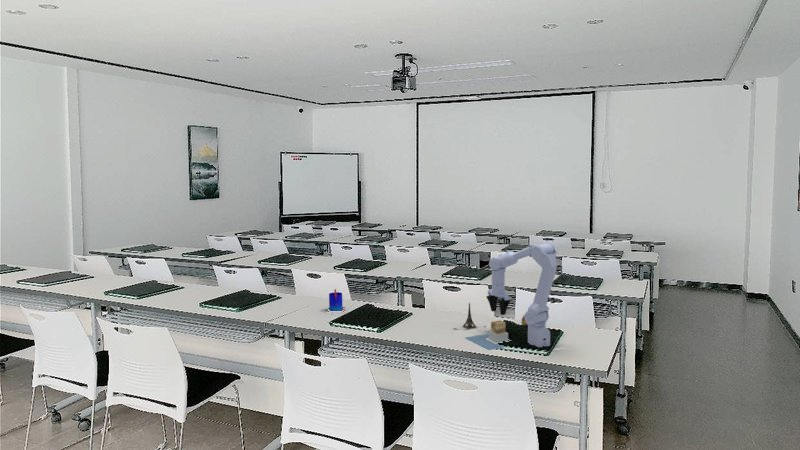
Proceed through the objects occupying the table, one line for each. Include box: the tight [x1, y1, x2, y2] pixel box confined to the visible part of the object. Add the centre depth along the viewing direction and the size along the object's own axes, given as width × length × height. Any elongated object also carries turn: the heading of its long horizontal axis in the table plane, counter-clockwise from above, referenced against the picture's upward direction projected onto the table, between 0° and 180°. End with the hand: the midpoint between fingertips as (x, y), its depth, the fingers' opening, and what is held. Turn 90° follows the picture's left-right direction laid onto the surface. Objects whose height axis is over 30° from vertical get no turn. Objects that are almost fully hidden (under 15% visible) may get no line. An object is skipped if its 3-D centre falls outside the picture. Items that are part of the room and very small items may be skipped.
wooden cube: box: [490, 319, 507, 334], centre depth 249 cm, size 4×4×4 cm
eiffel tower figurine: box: [454, 302, 487, 331], centre depth 273 cm, size 15×10×13 cm
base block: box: [488, 330, 509, 343], centre depth 249 cm, size 6×6×4 cm
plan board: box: [464, 333, 512, 351], centre depth 248 cm, size 20×16×1 cm
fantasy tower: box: [328, 288, 346, 312], centre depth 311 cm, size 12×12×12 cm
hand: (498, 312), depth 259 cm, fingers open, 7 cm apart
